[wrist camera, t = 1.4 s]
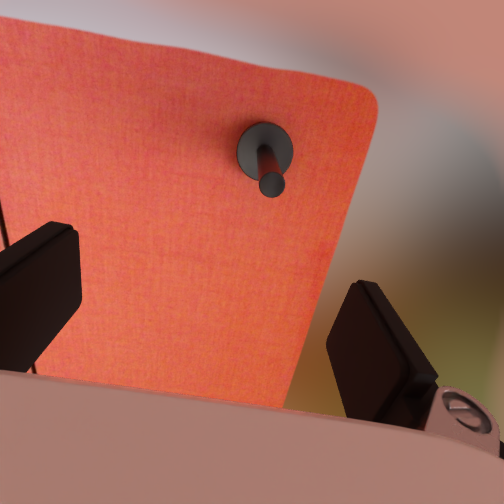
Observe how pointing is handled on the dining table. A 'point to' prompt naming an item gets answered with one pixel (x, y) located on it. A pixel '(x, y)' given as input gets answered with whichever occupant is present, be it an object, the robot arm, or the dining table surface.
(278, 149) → the black plunger
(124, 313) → the dining table surface
